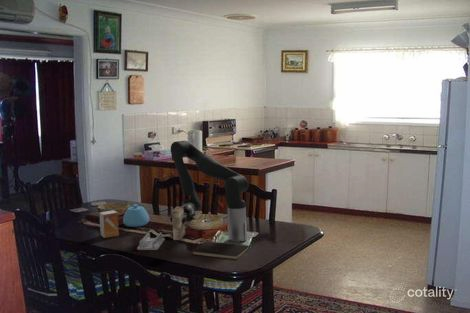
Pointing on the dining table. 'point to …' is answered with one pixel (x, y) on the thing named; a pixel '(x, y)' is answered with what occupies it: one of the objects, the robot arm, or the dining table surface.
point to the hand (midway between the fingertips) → (178, 221)
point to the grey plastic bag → (150, 242)
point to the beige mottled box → (178, 223)
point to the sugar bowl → (135, 216)
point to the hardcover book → (221, 250)
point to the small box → (109, 224)
